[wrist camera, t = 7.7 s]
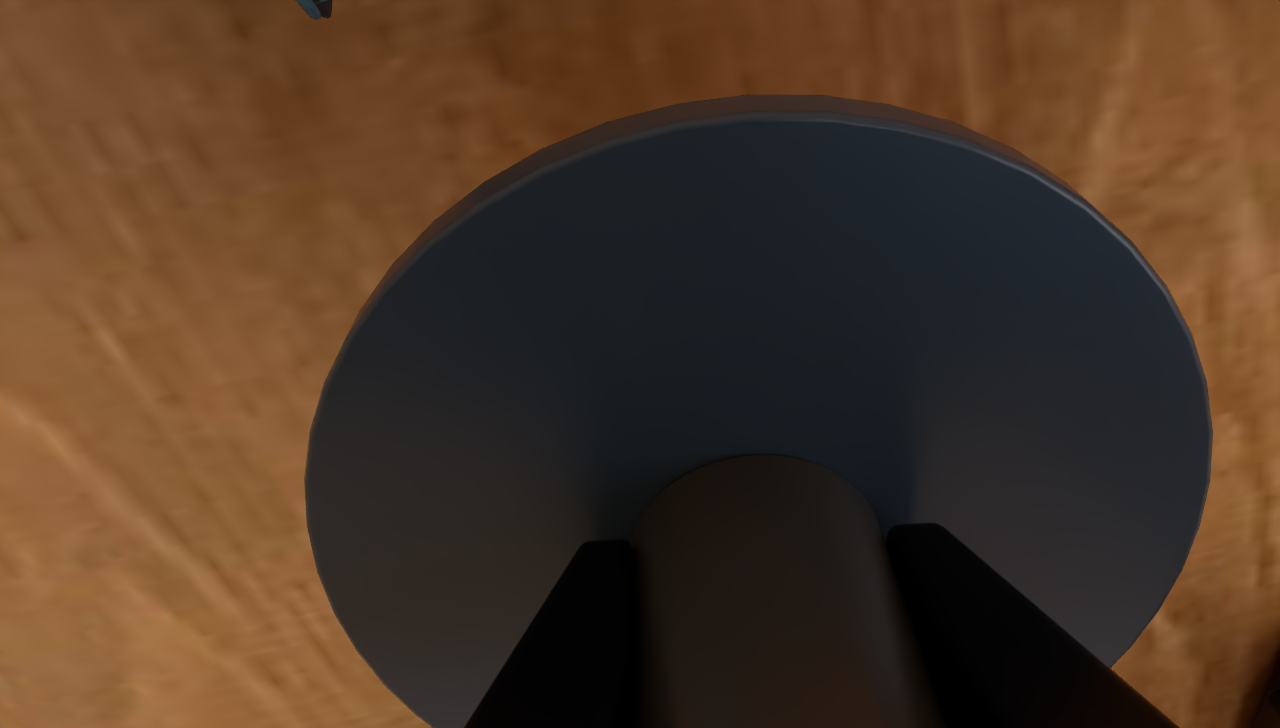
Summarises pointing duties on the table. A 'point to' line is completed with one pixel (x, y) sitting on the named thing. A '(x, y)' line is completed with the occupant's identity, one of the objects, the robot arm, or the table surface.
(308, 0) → the sunglasses
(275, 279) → the table surface
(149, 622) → the table surface
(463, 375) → the lid
